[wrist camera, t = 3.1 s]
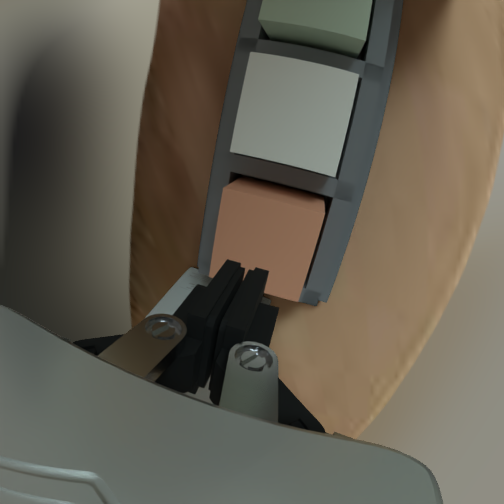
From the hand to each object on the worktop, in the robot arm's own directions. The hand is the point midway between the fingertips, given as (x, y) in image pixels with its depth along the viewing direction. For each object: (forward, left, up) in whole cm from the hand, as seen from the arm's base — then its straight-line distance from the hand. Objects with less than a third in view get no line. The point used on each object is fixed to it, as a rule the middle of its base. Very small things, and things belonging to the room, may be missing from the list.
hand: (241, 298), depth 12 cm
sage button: (-14, 0, -8) cm, 16 cm away
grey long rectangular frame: (-7, 0, -11) cm, 13 cm away
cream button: (-7, 0, -8) cm, 11 cm away
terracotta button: (-1, 0, -8) cm, 8 cm away
